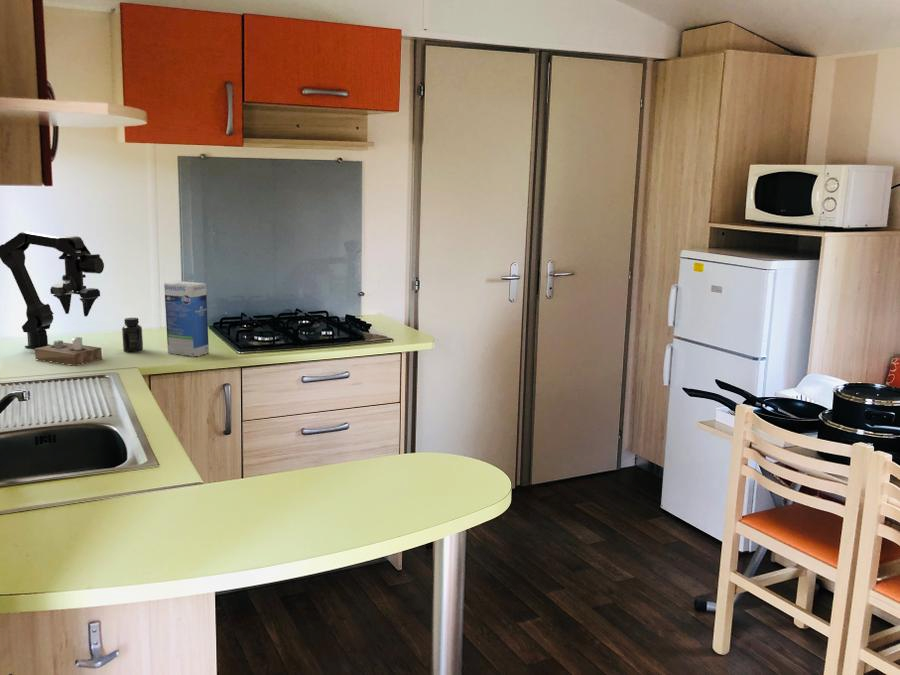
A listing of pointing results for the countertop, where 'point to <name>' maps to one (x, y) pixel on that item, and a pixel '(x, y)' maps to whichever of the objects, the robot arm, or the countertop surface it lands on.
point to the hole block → (68, 354)
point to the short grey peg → (58, 344)
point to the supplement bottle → (132, 335)
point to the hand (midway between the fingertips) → (76, 315)
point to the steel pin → (77, 344)
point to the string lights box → (186, 318)
